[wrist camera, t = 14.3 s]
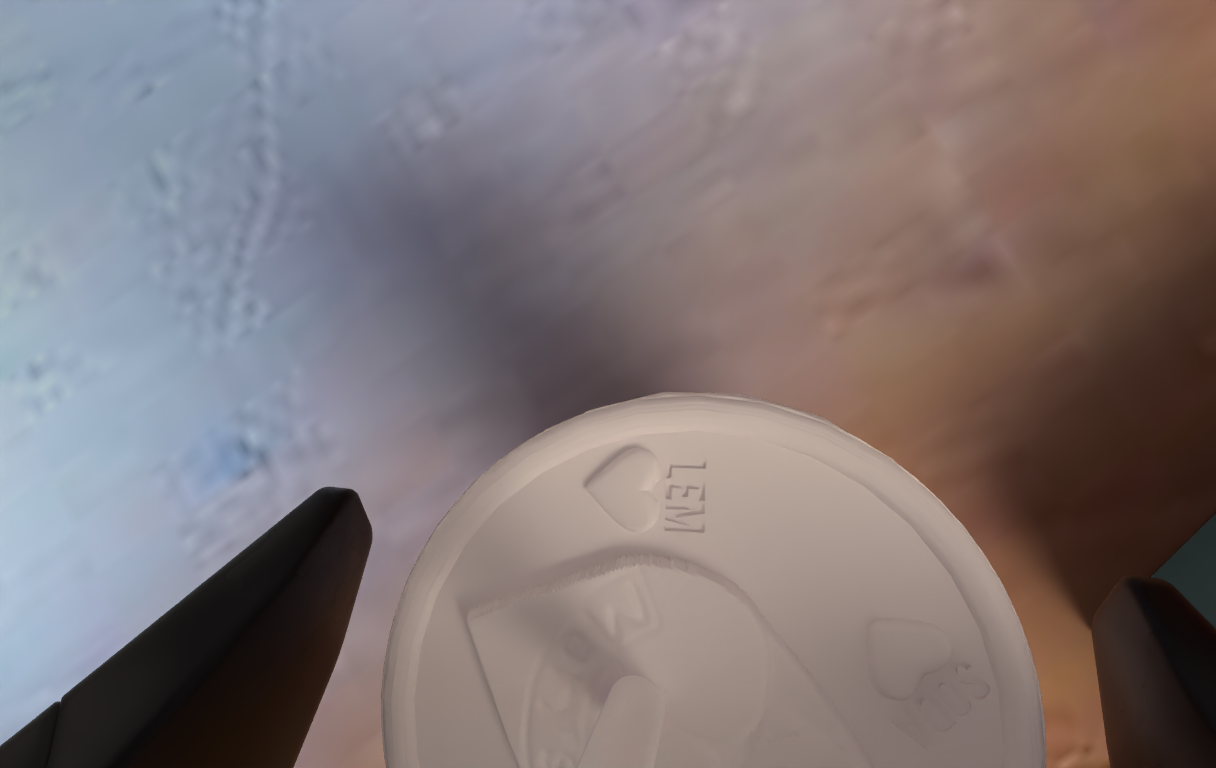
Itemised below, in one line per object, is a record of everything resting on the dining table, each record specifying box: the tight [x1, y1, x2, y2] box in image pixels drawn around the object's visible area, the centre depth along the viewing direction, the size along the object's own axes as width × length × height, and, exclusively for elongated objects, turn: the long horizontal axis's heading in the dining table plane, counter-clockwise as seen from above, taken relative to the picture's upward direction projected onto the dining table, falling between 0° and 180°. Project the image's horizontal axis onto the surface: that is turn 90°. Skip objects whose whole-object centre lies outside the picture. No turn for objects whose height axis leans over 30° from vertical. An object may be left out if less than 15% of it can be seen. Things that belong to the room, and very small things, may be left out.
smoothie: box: [381, 392, 1046, 768], centre depth 10 cm, size 6×6×14 cm
